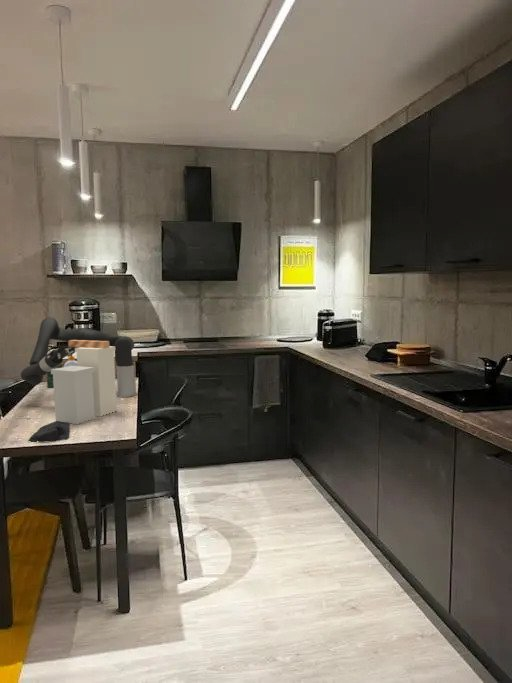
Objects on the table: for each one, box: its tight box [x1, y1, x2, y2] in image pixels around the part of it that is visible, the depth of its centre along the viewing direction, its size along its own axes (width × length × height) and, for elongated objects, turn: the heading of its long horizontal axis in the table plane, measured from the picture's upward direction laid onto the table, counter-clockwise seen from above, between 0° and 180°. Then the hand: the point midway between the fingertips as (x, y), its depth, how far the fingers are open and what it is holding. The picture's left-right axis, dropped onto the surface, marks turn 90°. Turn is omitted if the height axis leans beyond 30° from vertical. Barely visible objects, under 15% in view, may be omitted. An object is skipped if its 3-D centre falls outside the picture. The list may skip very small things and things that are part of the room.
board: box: [67, 340, 109, 348], centre depth 244 cm, size 22×4×3 cm, turn 65°
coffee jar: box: [46, 361, 64, 389], centre depth 315 cm, size 10×8×19 cm
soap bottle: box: [63, 354, 77, 367], centre depth 304 cm, size 9×7×23 cm
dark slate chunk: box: [27, 420, 71, 443], centre depth 210 cm, size 15×22×5 cm
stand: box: [75, 346, 118, 417], centre depth 244 cm, size 14×12×32 cm
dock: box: [51, 366, 96, 425], centre depth 231 cm, size 14×12×24 cm
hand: (70, 346), depth 249 cm, fingers open, 8 cm apart
